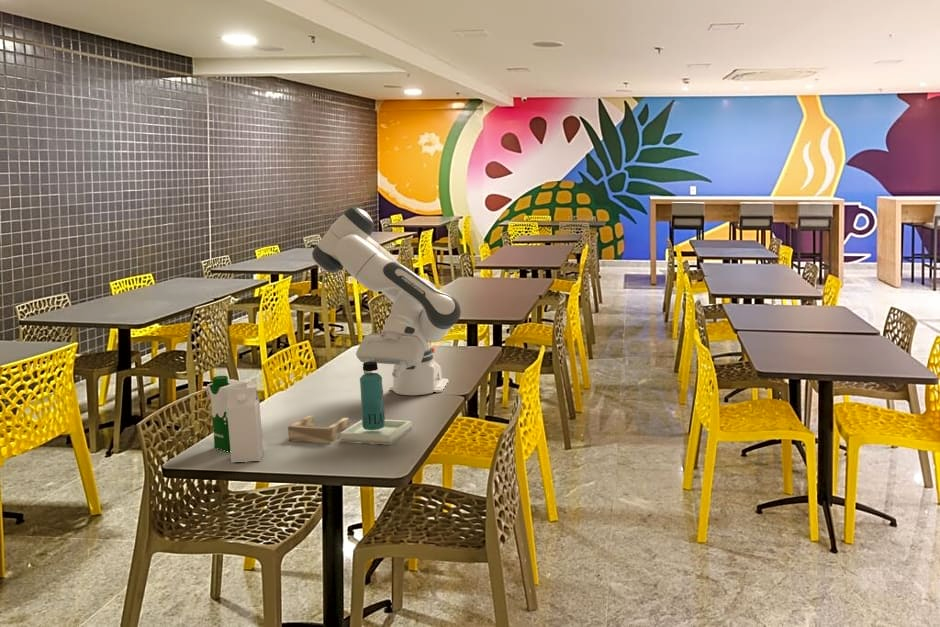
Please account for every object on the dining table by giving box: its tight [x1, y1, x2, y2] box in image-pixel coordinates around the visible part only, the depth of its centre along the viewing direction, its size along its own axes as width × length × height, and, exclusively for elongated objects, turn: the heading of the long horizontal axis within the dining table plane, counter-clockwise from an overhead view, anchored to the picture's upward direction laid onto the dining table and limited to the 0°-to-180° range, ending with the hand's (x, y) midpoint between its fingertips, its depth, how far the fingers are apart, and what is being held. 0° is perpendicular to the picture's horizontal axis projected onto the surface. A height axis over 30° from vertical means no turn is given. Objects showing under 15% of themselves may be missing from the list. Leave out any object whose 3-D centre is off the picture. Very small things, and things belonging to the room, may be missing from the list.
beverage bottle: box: [359, 361, 386, 430], centre depth 244 cm, size 6×7×20 cm
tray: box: [339, 419, 413, 446], centre depth 245 cm, size 15×15×2 cm
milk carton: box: [227, 386, 264, 463], centre depth 228 cm, size 7×7×19 cm
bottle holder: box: [287, 415, 350, 444], centre depth 246 cm, size 12×13×4 cm
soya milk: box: [206, 375, 248, 453], centre depth 238 cm, size 9×9×20 cm
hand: (380, 375), depth 245 cm, fingers open, 8 cm apart
